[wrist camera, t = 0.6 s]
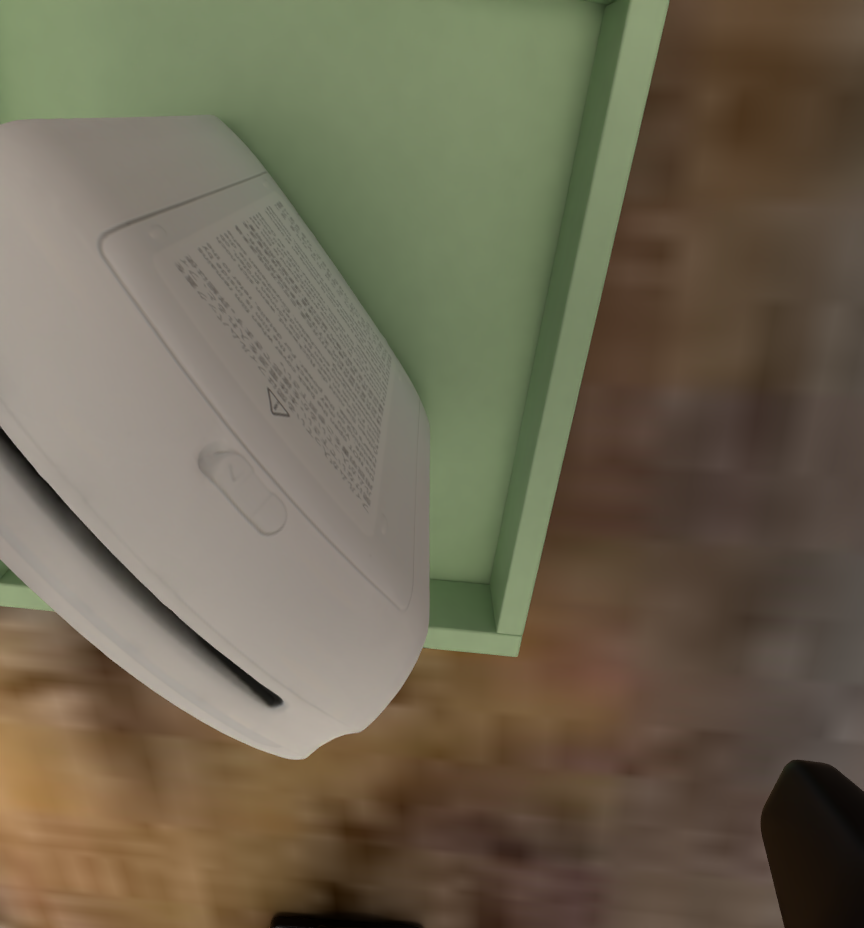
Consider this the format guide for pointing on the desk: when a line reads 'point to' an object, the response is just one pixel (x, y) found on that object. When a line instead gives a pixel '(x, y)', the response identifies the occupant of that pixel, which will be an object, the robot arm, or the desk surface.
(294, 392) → the white rounded tower
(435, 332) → the tray
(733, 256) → the desk surface
